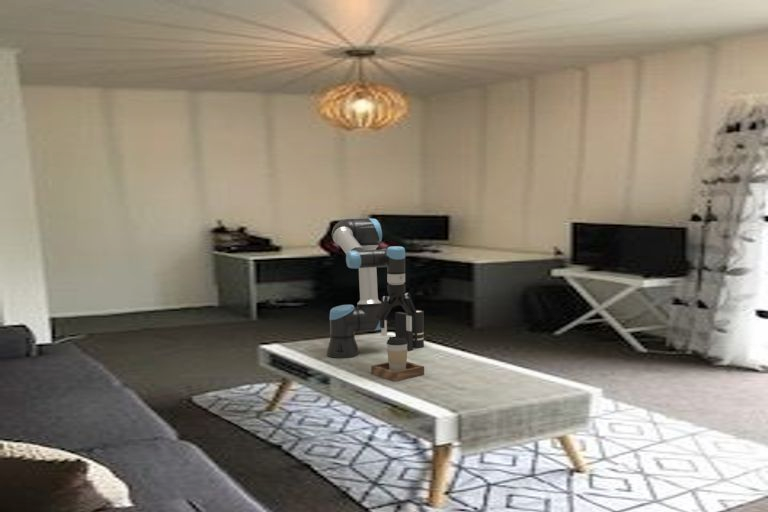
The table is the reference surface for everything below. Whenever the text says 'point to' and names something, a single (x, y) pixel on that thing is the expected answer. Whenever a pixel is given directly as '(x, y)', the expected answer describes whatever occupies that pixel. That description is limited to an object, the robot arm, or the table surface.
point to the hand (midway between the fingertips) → (396, 333)
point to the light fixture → (417, 333)
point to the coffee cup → (397, 353)
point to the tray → (409, 372)
